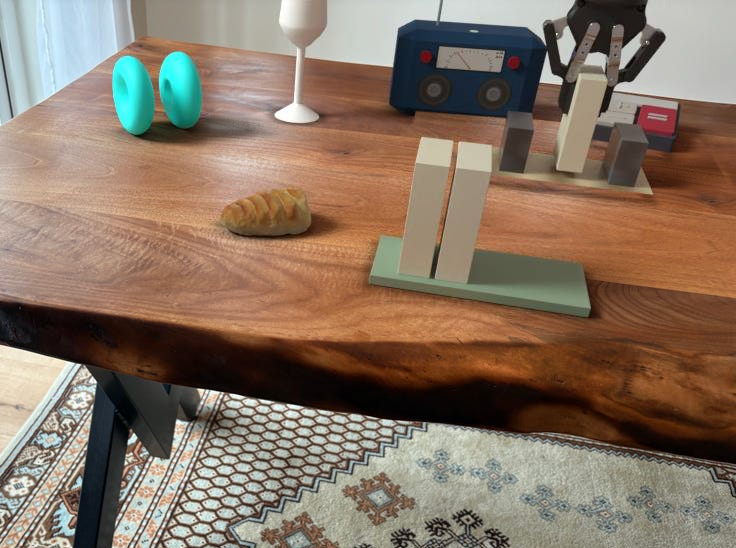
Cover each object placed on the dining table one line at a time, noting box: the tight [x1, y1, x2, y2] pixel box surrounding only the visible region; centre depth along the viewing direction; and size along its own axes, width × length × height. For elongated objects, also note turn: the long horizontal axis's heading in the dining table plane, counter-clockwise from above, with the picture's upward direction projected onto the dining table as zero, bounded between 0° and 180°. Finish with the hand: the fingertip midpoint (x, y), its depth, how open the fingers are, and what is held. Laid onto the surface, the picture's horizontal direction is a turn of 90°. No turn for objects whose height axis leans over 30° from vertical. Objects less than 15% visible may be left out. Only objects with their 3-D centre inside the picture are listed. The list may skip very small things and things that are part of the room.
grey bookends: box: [491, 111, 654, 195], centre depth 96 cm, size 20×10×6 cm, turn 76°
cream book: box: [553, 63, 608, 173], centre depth 94 cm, size 3×7×11 cm, turn 165°
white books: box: [368, 136, 592, 318], centre depth 72 cm, size 20×9×12 cm, turn 76°
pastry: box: [220, 185, 312, 237], centre depth 82 cm, size 9×7×4 cm
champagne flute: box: [274, 0, 328, 124], centre depth 107 cm, size 7×7×24 cm
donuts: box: [112, 51, 203, 136], centre depth 104 cm, size 10×10×10 cm
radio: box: [388, 0, 548, 119], centre depth 112 cm, size 21×9×20 cm, turn 82°
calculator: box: [592, 91, 682, 153], centre depth 111 cm, size 11×4×15 cm
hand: (580, 113), depth 93 cm, fingers closed on cream book, 3 cm apart
